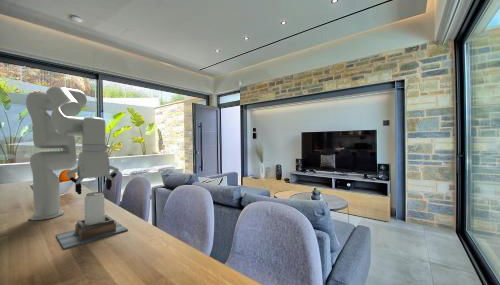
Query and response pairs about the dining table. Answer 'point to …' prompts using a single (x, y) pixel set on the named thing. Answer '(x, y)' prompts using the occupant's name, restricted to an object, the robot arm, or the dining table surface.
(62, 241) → the board
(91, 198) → the can
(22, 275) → the dining table surface
